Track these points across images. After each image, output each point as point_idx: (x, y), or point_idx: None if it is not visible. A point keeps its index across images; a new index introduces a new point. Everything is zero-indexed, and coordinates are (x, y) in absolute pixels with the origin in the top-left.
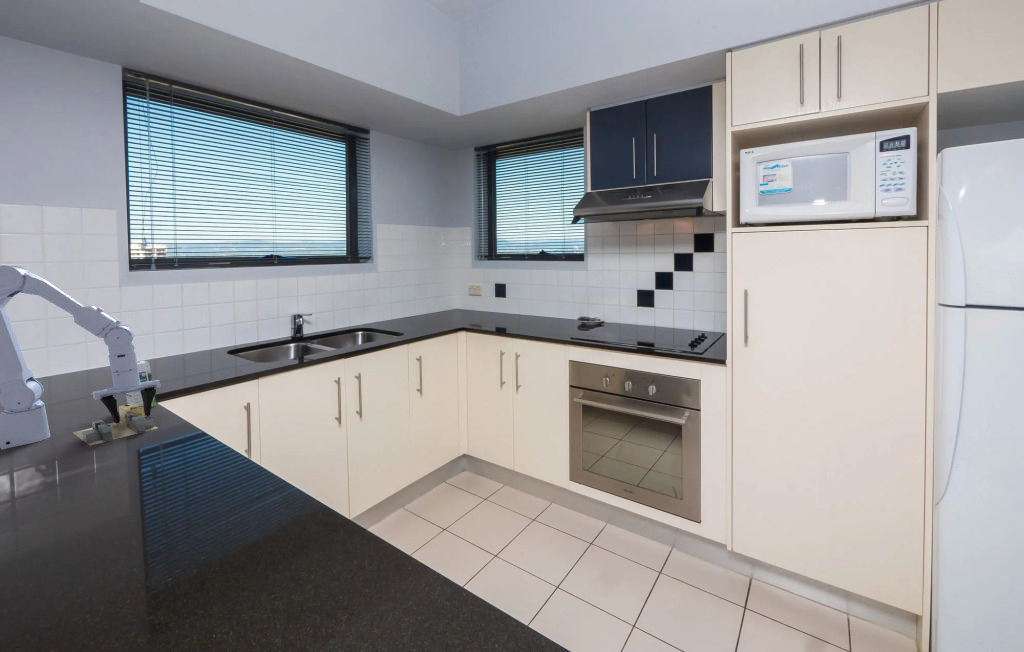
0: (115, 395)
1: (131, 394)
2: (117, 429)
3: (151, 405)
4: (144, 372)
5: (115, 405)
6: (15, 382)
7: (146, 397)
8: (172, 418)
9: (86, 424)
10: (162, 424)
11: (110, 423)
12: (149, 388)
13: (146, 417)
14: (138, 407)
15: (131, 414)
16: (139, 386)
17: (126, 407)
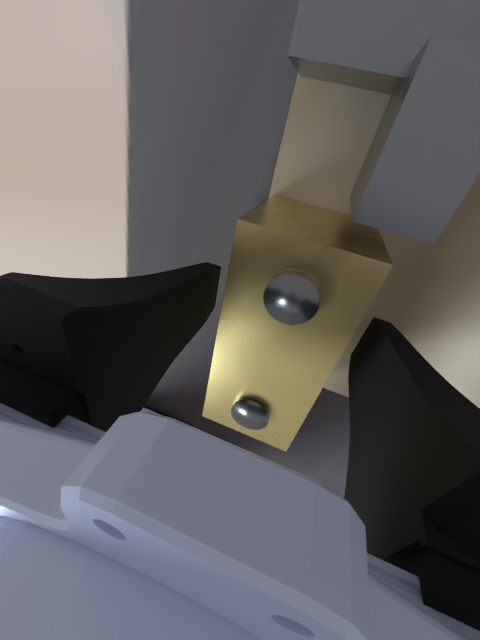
0: (384, 561)
1: None
2: (471, 227)
3: None
4: None
5: (445, 411)
6: None
7: (130, 304)
8: (137, 159)
9: (337, 483)
10: (229, 50)
11: (342, 394)
12: (8, 385)
13: (336, 2)
14: (261, 265)
15: (467, 95)
16: (21, 468)
17: (292, 378)
